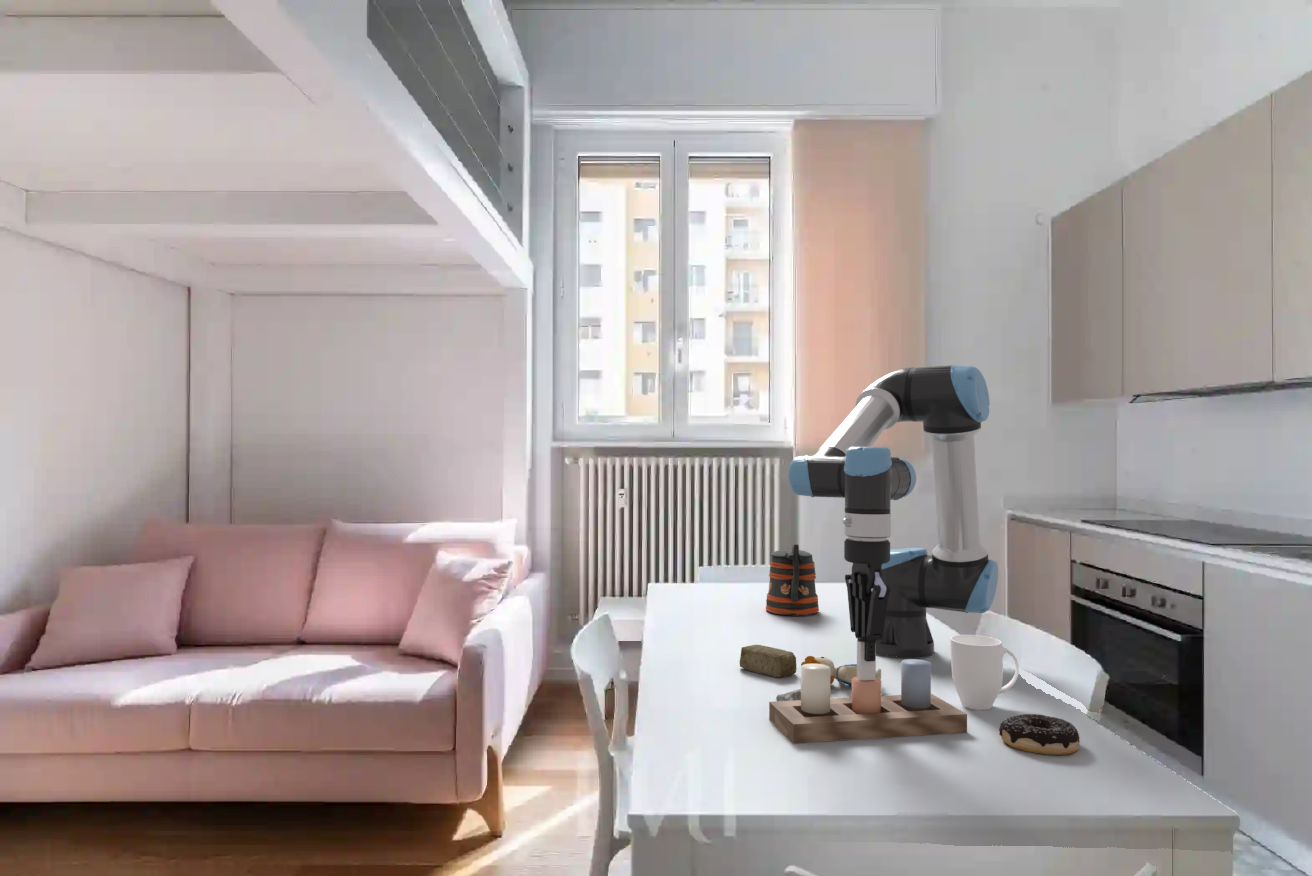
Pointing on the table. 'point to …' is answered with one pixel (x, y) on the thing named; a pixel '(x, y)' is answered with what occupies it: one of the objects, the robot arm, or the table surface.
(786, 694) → the stone
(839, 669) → the toy
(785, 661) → the stone block
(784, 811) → the table surface
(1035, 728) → the donut
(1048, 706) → the table surface
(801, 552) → the beer stein
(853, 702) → the cap terracotta
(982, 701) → the mug
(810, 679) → the white rounded cylinder
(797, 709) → the wooden compartment tray
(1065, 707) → the table surface
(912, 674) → the cap slate
